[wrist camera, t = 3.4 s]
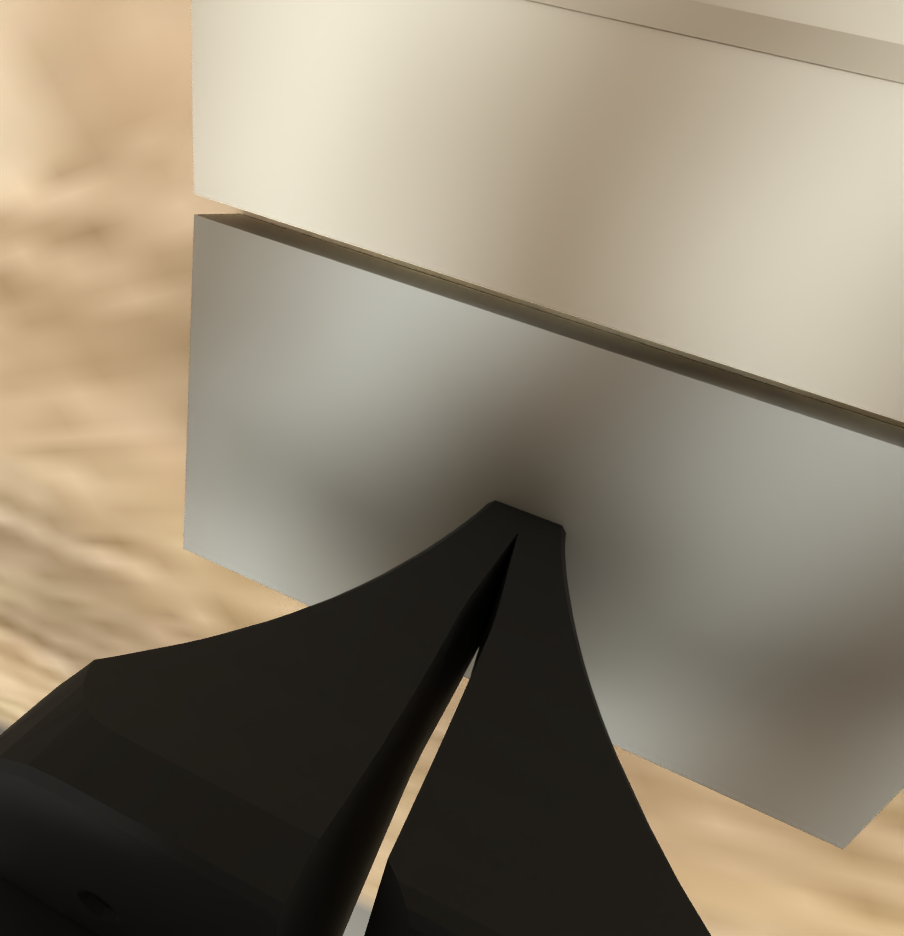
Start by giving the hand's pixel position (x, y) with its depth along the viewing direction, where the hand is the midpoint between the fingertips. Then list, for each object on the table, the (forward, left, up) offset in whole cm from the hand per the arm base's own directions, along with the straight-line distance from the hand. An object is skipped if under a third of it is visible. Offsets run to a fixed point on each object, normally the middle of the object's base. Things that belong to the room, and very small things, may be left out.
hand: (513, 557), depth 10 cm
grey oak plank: (0, 0, -1) cm, 1 cm away
